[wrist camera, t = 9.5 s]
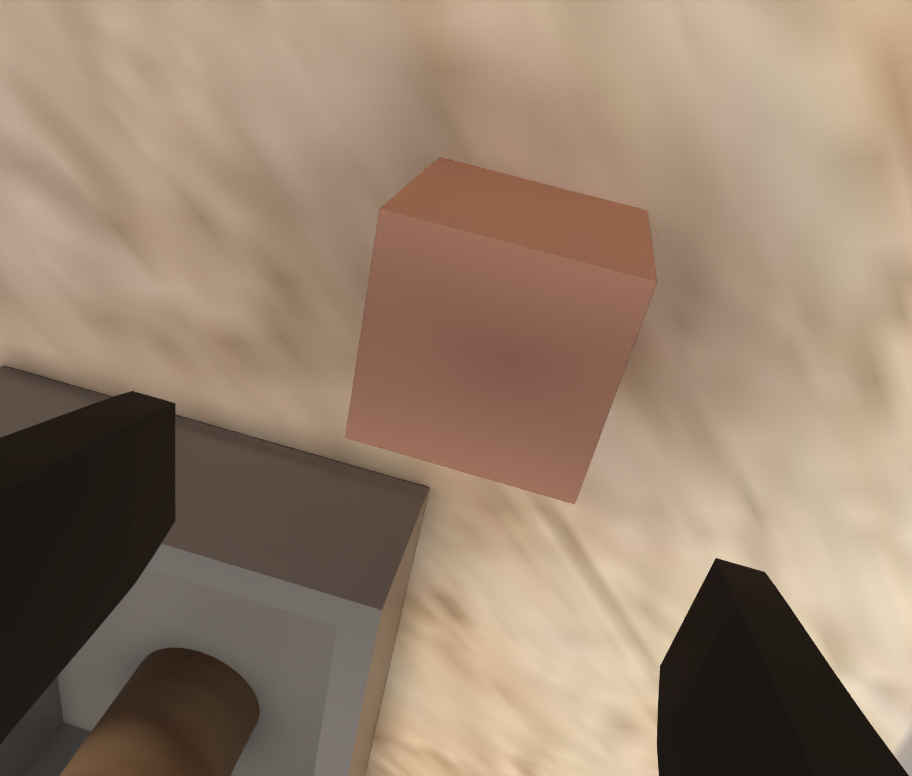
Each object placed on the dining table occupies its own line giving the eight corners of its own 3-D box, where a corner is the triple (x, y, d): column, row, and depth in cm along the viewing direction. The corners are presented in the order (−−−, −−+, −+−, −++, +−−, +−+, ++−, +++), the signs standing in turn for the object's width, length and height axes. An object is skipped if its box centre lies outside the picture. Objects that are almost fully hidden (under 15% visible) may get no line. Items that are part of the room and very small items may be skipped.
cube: (405, 341, 19) (344, 437, 15) (440, 156, 17) (379, 208, 13) (584, 391, 19) (575, 504, 15) (647, 209, 17) (656, 281, 12)
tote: (53, 717, 32) (-36, 830, 27) (3, 366, 23) (-143, 452, 18) (355, 815, 30) (312, 950, 26) (429, 488, 21) (381, 610, 17)
